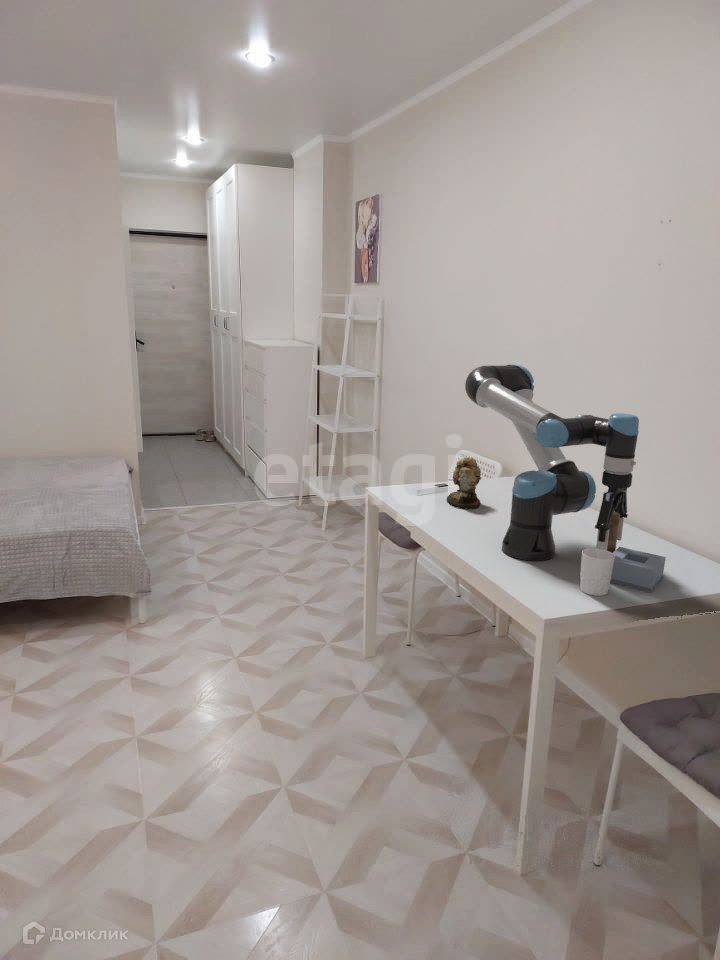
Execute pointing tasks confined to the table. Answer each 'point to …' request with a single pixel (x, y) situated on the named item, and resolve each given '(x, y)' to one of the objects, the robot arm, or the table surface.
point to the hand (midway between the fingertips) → (608, 545)
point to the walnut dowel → (613, 532)
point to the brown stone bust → (465, 484)
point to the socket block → (637, 569)
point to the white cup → (596, 571)
